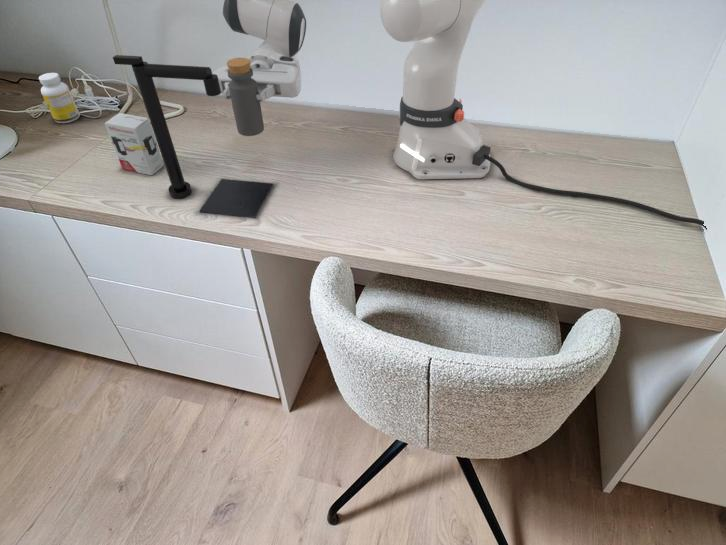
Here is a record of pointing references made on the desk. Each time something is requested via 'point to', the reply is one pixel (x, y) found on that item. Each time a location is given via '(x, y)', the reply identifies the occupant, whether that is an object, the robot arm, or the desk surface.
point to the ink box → (134, 143)
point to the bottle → (244, 97)
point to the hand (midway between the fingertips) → (243, 97)
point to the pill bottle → (58, 98)
